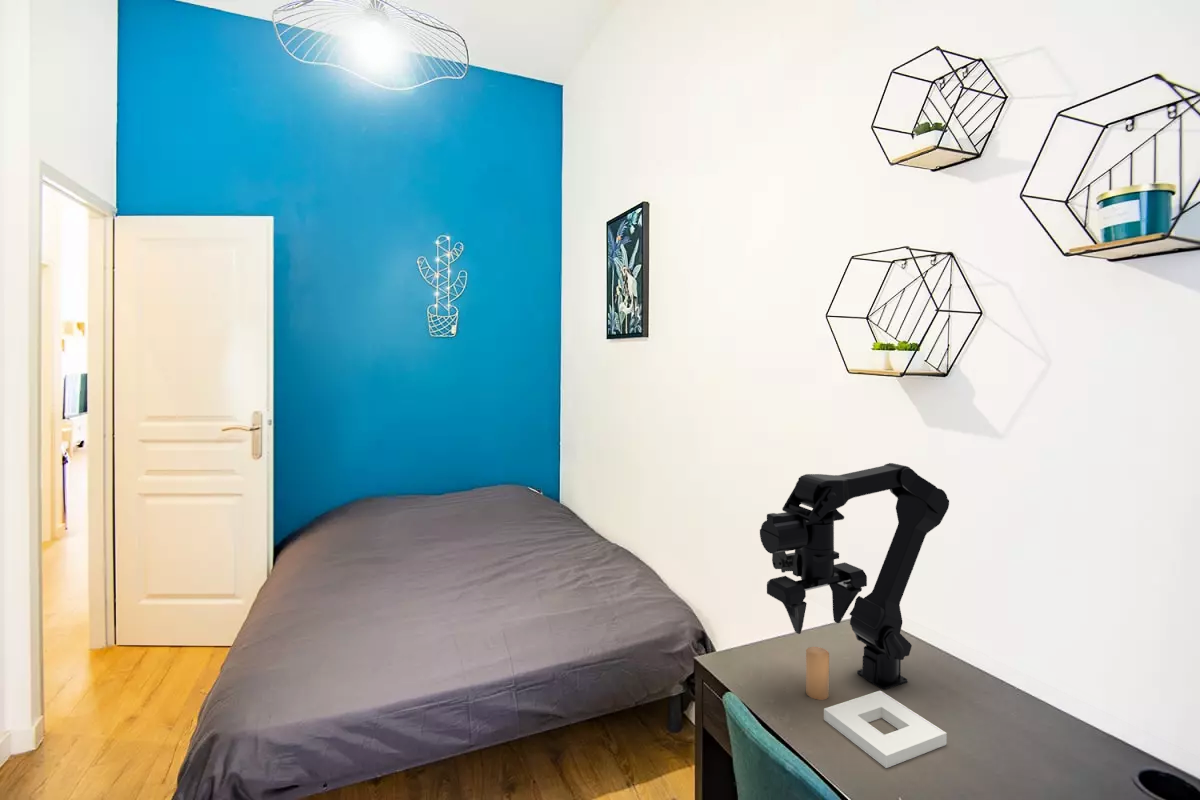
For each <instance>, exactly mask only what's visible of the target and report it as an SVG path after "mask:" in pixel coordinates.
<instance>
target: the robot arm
mask: <svg viewBox="0 0 1200 800" xmlns="http://www.w3.org/2000/svg"><path fill="white" fill-rule="evenodd" d="M884 491H890V493H891V494H892V495H893V496H895V498H896V499H897V500H896V504H895V512H896V517H897V522H898V523H897V526H896V529H895V532H894V534H893V537H892V539H891V541H890V542H891V543H890V545H889V547H888V550H887V553H886V555H885V557H884V560H883V564H882V565H881V569H880V571H879V573H878V576H877V579H876V582H875V583H874V586H873V589H872V591H871V592H870V593H869V594H867V595H866V596H864V597H862V596H860V595H859V593H860V592H862V589H863V588H865V587H867V586H868V577H867V574H866V573H865V571H864V569H862V568H859V567H858V566H855V565H852V564H850V563H847V562H840V563H837V564H835V560H838V559H840V553H839V552H838V551H836V550H835V535H834V534H835V521H842V520H844V519H845V516H844V515H843V514H842V513H841V512H839V510H838V509H839V508H842V507H843V506H845V505H846V504H847V503H848V502H849V500H851V499H854V498H857V497H862V496H867V495H871V494H876V493H879V492H884ZM801 505H804V506H806V507H809V508H811V509H812V510H811V509H809V508H806V507H804V506H801ZM949 507H950V499H949V498H948V495H947V493H946V492H945V491H944V490H943V489H942V488H938V487H936V485H935V484H933V483H932V482H930V481H928V480H926V478H924V477H922V476H920V475H919V474H918V473H917V472H916V471H915V470H913V469H912V468H911V467H909V466H907V465H903V464H898V463H892V462H888V463H885V464H884V465H881V466H875V467H872V468H868V469H867V468H866V469H862V470H858V471H857V470H856V471H853V472H849V473H843V474H837V475H836V474H835V475H834V474H822V473H806V474H803V475H800V477H799V476H798V480H797V482H796V483H795V486H794V488H793V490H792V491H791V493H790V495H789V497H788V498H787V500H786V501H785V503H784V505H783V507H782V511H783V512H779V513H775V512H771V513H766V520H765V521H763V523H762V524H761V526H760V527H761V528H760V529H759V537H760V541H761V545H762V546H763V548H764V549H765V550H766V551H767V553H769V554H772V556H771V562H772V566H773V569H775V570H780V571H781V573H786V572H792V575H793V576H795V577H800V580H795V579H792V578H790V577H789V576H786V575H783V576H779V577H774V578H770V579H769V580H768V581H767V583H766V594H767V595H769V596H770V597H772V598H774V599H776V600H777V601H779V602H781V603H782V605H783V606H784V607H785V610H786V612H787V615H788V617H789V620H790V622H791V625H792V627H793V630H794V633H795V634H798V635H800V634H801V633H802V630H803V627H804V620H805V615H806V610H807V609H806V608H807V605H808V604H807V602H806V601H804V600H805V598H806V597H807V593H806V591H811V590H815V589H819V588H822V587H827V586H829V587H830V590H831V594H832V597H831V599H832V615H833V622H835V623H836V624H839V623H841V622H842V620H843V618H844V616H845V614H846V612H847V611H848V610H849V608H850V606H851V604H852V603H853V601H854V600H855V601H854V606H853V608H852V610H850V612H849V616H850V620H849V625H850V627H851V629H852V631H853V632H854V634H855V637H856V640H857V641H859V642H861V643H863V644H864V645H865V646H863V655H862V669H858V670H856V673H857V675H859V676H860V677H862V678H863V679H865V680H867V681H868V682H870V683H871V684H873V685H874V686H876V687H877V688H879V689H881V690H888V689H891V688H895V687H897V686H901V685H903V684H906V683H908V678H906V677H904V676H903V675H901V673H902V672H901V667H902V666H901V664H902V663H901V662H902V661H903V660H904V659H905V658H906V657H909V656H910V653H911V650H912V646H913V644H912V643H911V642H909V641H908V639H906V638H905V637H904V635H902V634H901V631H902V626H903V617H902V616H903V615H902V613H901V612H902V611H901V606H900V605H901V601H902V599H903V596H904V594H905V590H906V588H907V585H908V582H909V580H910V578H911V576H912V572H913V570H914V567H915V565H916V562H917V559H918V556H919V554H920V551H921V549H922V546H923V543H924V541H925V538H926V536H927V534H928V533H930V532H931V531H933V530H934V529H935V528H936V527H938V526H939V525H940V524H941V523H942V521H943V519H944V517H945V515H946V513H947V512H948V509H949ZM790 551H794V552H790ZM786 552H790V553H786ZM857 595H859V596H857ZM855 598H856V599H855Z"/></svg>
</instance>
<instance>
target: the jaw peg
mask: <svg viewBox="0 0 1200 800" xmlns="http://www.w3.org/2000/svg"><path fill="white" fill-rule="evenodd" d="M805 694H806V695H807V696H808V697H809V698H811V699H815V700H819V701H825V700H827V699H828V698H829V695H830V652H829V651H828V650H827V649H825V648H823V647H819V646H809V647H807V648H806V649H805Z"/></svg>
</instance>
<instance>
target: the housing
mask: <svg viewBox="0 0 1200 800" xmlns="http://www.w3.org/2000/svg"><path fill="white" fill-rule="evenodd" d="M881 719H882V720H884V721H886V722H887V723H889V725H891V726H893V727H894V728H896V729H897V730H894V731H891V732H889V733H883V732H881V731H880V730H878V729H877V728H876V727H874V726H873V725H871V724H870V722H871V723H872V722H874V721H876V720H881ZM823 720H824V721H825V722H826V723H828V724H829V726H831V727H833V728H834V729H835V730H836V731H838V732H839V733H841V734H842V735H843V736H845V738H847V739H848V740H849V741H850V742H852V743H853V744H854V745H856V746H857V747H858V748H860V749H861V750H862V751H863V752H865V753H866V754H867V755H869V756H870V757H871V758H873V759H874V760H875V761H876V762H877V763H879V764H880V765H882V766H883V767H884V768H885V769H888V768H890V767H893V766H895V765H898V764H901V763H903V762H905V761H906V762H907V761H909V760H911V759H914V758H916V757H919V756H922V755H924V754H926V753H929V752H931V751H932V752H933V751H934V750H936V749H939V748H942V747H945V746H947V737H948V736H947V734H948V733H947V732H946V731H944V730H942V729H941V728H939V727H938V726H936V725H935V724H933V723H932V722H930V721H929V720H927V719H925V718H924V717H923V716H921V715H920V714H918V713H916V712H914V710H911V709H910V708H909V707H907V706H905V705H904V704H902V703H900V702H899V701H898V700H897V699H894V698H893V697H891V696H890V695H888V694H886V693H885V692H884V691H882V690H877V691H875V692H871V693H869V694H865V695H862V696H859V697H856V698H853V699H850V700H846V701H844V702H841V703H837V704H834V705H831V706H827V707H824V708H823Z"/></svg>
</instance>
